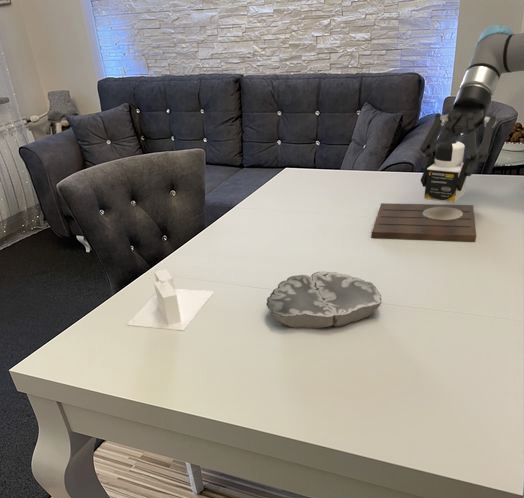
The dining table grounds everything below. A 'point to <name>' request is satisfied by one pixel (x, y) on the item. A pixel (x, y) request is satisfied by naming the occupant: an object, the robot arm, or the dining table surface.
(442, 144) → the medicine bottle
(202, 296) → the napkin holder
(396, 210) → the board
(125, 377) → the dining table surface
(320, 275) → the brain slice
